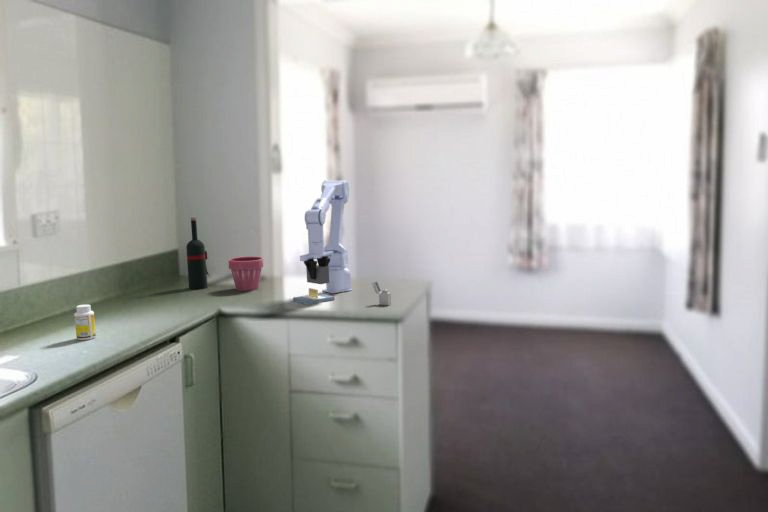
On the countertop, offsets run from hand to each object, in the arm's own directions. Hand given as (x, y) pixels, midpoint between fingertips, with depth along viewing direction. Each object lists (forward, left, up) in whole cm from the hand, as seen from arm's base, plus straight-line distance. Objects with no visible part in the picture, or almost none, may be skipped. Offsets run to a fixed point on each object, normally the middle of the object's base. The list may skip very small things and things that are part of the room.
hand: (317, 278), depth 263 cm
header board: (+1, -2, -8) cm, 9 cm away
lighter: (-13, +22, -9) cm, 27 cm away
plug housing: (0, 0, -2) cm, 2 cm away
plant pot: (+8, -44, -9) cm, 45 cm away
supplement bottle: (+82, -1, -9) cm, 83 cm away
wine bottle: (+21, -63, -9) cm, 67 cm away
